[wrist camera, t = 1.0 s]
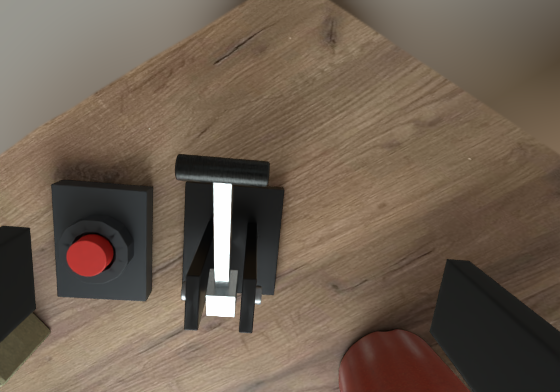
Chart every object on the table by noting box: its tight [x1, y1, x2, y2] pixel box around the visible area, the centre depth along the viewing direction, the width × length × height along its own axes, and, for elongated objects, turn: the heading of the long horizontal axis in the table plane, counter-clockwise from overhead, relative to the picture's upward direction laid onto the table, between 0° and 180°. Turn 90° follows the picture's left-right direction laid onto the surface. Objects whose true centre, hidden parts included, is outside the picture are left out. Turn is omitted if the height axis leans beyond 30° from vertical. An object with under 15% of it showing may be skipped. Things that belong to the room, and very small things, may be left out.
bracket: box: [181, 181, 284, 333], centre depth 33 cm, size 12×10×14 cm
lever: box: [175, 154, 270, 317], centre depth 25 cm, size 14×5×2 cm, turn 176°
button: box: [66, 234, 113, 276], centre depth 35 cm, size 4×4×2 cm
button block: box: [51, 180, 153, 301], centre depth 37 cm, size 12×9×4 cm
